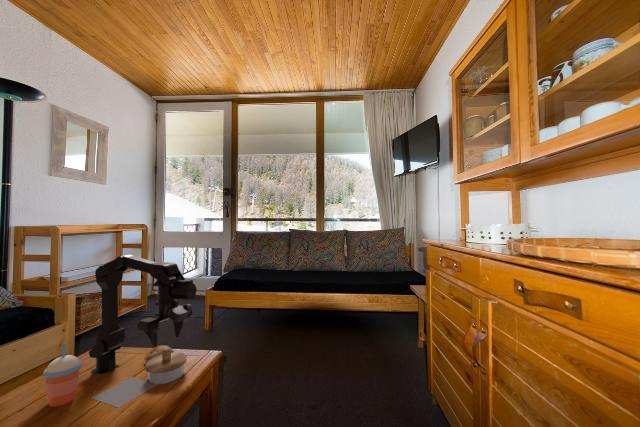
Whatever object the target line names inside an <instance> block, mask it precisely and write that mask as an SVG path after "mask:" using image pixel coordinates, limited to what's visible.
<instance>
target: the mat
mask: <svg viewBox="0 0 640 427" xmlns="http://www.w3.org/2000/svg"><path fill="white" fill-rule="evenodd" d="M156 386H158V384H153V383H150V382H149V381H146V380H142V379H140V378H136V377H132V376H131V377H130V378H127V379H126V380H123V381H122V382H119V383H118V384H116V385H114V386H112V387H110V388H107V389H106V390H104V391H102V392H100V393H98V394H96V395H94V396H92V397H91V399H93V400H95V401H97V402H101V403H103V404H105V405H109V406H112V407H114V408H117V409H118V408H121V407H122V406H125V405H126V404H127V403H129V402H131V401H132V400H134V399H136V398H138V397H139V396H141V395H143V394H145V393H146V392H148V391H149V390H151V389H153V388H155V387H156Z"/></svg>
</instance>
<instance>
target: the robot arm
mask: <svg viewBox="0 0 640 427" xmlns="http://www.w3.org/2000/svg"><path fill="white" fill-rule="evenodd" d="M129 269H131V270H136V271H139V272H143V273H146V274H149V275H150V276H151V277H152V278H153V279H155V280H156V281H155V282H154V283H153V284H152V287H157V301H155V302H154V304H155V306H157V312H155V313H154V316H155V318H153V317H145V318H143V319H141V320H139V321H138V322H136V324H137V325H136V330H140V331H141V332H144V333H145V335H146V336H147V338H148V339H149V342H150V343H151V344H152V347H153V348H155V347H157V346H158V332H159V330H160V329H161V328H160V327H159V326H160V323H164V322H166V321H169V320H171V321H172V322H173V329H174V335H175V337H176V338H179V336H180V334H181V331H182V329H183V326H184V324H185V322H186V320H187V321H188V319H189V318H191V317H190V316H192V315H193V309H192V305H191V304H190V303H187V304H184V305H180V301H179V300H193V299H195V297H196V294H197V286H196V284H195V283H194V280H193V279H186V278H185V276H184V275H183V273H182V272H181V270H180V269H179V267H178V264H177V263H175V262H168V261H166V262H157V261H153V260H149V259H146V258H142V257H138V256H135V255H133V254H129V253H127V254H122V255H119V256H117V257H116V258H114V259H113V260H110V261H108V262H107V263H105V264H103V265H100V266H98V267H97V268H96V269H95V271H94V272H95V274H94V275H95V276H94V277H95V282H96V283H97V285H98V286H99V287H100V289H101V328H100V330H99V332H98V333H97V336H96V342H95V345H93V347H92V348H91V349H90V350H89V351H88V355H89V358H93V359H95V367H94V368H93V369H91V371H90V372H91V373H94V374H99V375H104V374H106V373H109V372H111V371H113V370H115V369H117V368H119V367H120V365H119V364H116V362H117V361H116V360H117V359H116V351H118V350H120V349H121V347H122V345H123V343H124V342H125V339H126V334H125V331H126V328H125V327H122V326H120V325H119V291H118V289H119V288H118V287H119V285H120V284H121V282H122V280H123V275H124V273H125V272H126V271H127V270H129Z"/></svg>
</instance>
